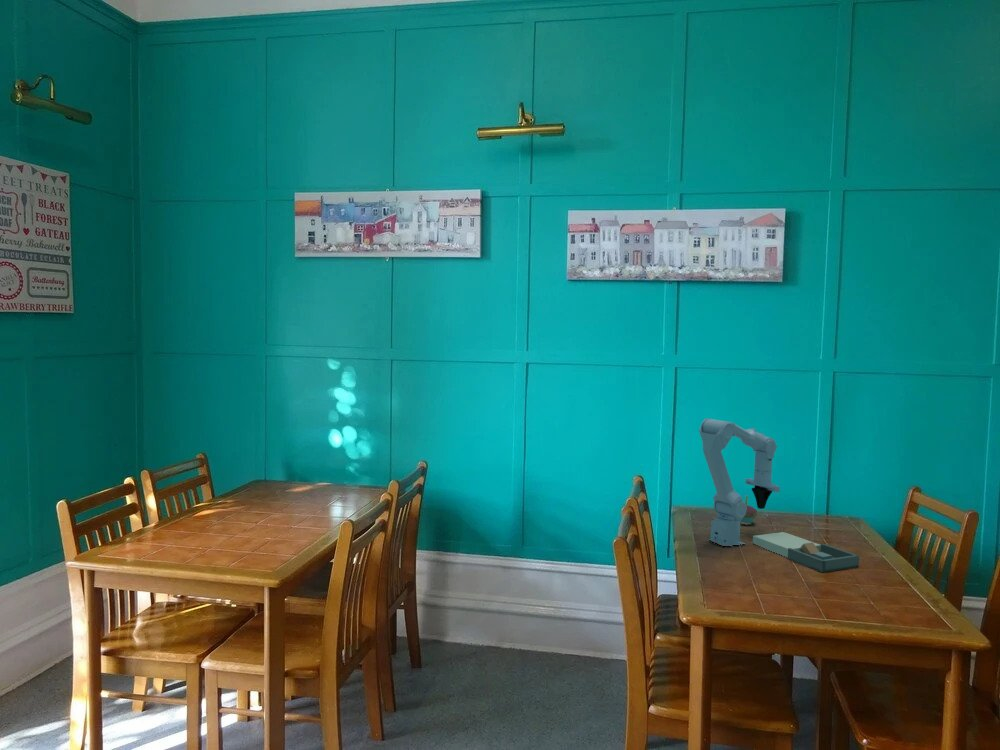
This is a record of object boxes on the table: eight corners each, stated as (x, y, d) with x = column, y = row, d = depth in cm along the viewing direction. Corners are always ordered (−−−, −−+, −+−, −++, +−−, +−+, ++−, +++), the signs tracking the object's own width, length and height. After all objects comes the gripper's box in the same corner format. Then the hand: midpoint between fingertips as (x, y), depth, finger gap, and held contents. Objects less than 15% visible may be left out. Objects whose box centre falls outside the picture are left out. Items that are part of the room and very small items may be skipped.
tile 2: (812, 553, 226) (812, 559, 226) (822, 556, 222) (822, 563, 222) (821, 551, 227) (821, 558, 227) (832, 555, 224) (831, 561, 224)
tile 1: (807, 557, 227) (811, 554, 226) (800, 547, 230) (803, 543, 229) (816, 556, 229) (820, 552, 228) (809, 545, 232) (812, 542, 230)
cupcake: (758, 527, 265) (760, 495, 264) (734, 525, 266) (736, 494, 265) (753, 521, 273) (755, 490, 272) (731, 519, 274) (732, 489, 274)
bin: (822, 572, 215) (822, 561, 215) (787, 558, 227) (788, 548, 227) (858, 566, 221) (859, 555, 221) (822, 553, 234) (823, 543, 234)
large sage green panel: (788, 558, 228) (789, 549, 228) (752, 544, 243) (753, 535, 242) (820, 553, 234) (821, 545, 233) (783, 540, 248) (783, 532, 248)
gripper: (787, 473, 245) (785, 512, 246) (756, 465, 258) (754, 502, 259) (771, 474, 242) (770, 513, 243) (741, 466, 256) (739, 504, 256)
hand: (761, 508), depth 251 cm, fingers closed
